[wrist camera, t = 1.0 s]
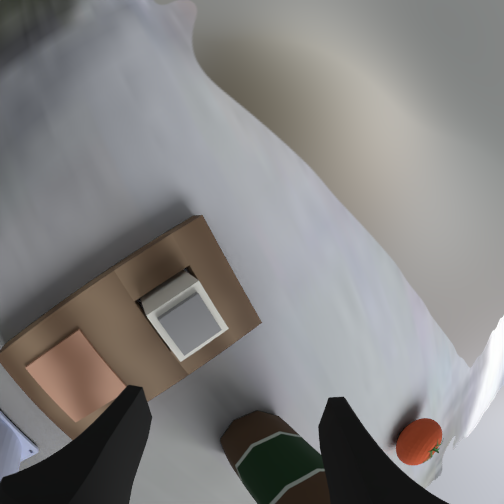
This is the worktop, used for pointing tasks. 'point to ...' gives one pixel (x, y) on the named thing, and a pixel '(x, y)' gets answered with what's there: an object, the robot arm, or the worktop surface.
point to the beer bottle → (275, 461)
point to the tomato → (419, 441)
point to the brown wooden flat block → (123, 331)
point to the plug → (183, 314)
